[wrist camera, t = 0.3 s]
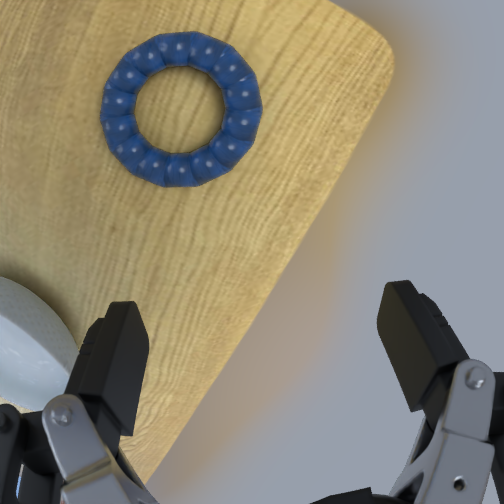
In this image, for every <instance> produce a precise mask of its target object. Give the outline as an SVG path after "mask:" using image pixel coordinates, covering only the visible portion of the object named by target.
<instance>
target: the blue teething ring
mask: <svg viewBox="0 0 504 504" xmlns="http://www.w3.org/2000/svg"><path fill="white" fill-rule="evenodd" d="M175 66H190V67H193V68H195V69H198V70H200V71H203V72H205V73H207V74H208V75H209V76H210V77H211V78H212V79H213V80H214V82H215V83H216V84H217V85H218V86H219V87H220V89H221V92H222V96H223V100H224V105H225V113H224V117H223V121H222V125H221V129H220V130H219V131H218V132H217V134H216V135H215V136H214V137H213V138H212V140H211V141H210V142H209V143H208V144H207V145H205V146H203V147H201V148H199V149H197V150H195V151H193V152H191V153H168V152H166V151H163V150H161V149H158V148H156V147H153V146H152V145H151V144H150V143H149V142H148V141H147V140H146V139H145V137H144V136H143V135H142V134H141V133H140V132H139V129H138V125H137V122H136V119H135V115H134V110H135V104H136V99H137V94H138V92H139V91H140V89H141V88H142V86H143V85H144V84H145V82H146V81H147V79H148V78H149V77H150V76H152V75H154V74H156V73H157V72H159V71H161V70H163V69H165V68H167V67H175ZM262 111H263V106H262V101H261V96H260V92H259V87H258V82H257V78H256V75H255V73H254V71H253V70H252V69H251V67H250V66H249V65H248V64H247V63H246V61H245V60H244V59H243V58H242V57H241V55H240V54H239V53H238V52H237V51H236V50H235V48H234V47H232V46H231V45H229V44H227V43H225V42H223V41H220V40H218V39H215V38H213V37H210V36H208V35H205V34H203V33H200V32H196V31H190V32H176V33H165V34H159V35H156V36H154V37H152V38H151V39H149V40H147V41H145V42H144V43H142V44H140V45H139V46H137V47H135V48H134V49H132V50H130V51H129V52H127V53H126V54H125V55H124V56H123V58H122V59H121V60H120V62H119V63H118V65H117V66H116V68H115V69H114V71H113V72H112V74H111V75H110V77H109V78H108V80H107V81H106V83H105V86H104V91H103V97H102V104H101V111H100V122H101V125H102V128H103V132H104V135H105V138H106V141H107V144H108V147H109V150H110V151H111V153H112V154H113V155H114V156H115V157H116V158H117V159H118V160H119V161H120V162H121V163H122V164H123V166H124V167H125V168H126V169H127V170H128V171H129V172H130V173H131V174H132V175H134V176H136V177H139V178H141V179H144V180H146V181H149V182H151V183H153V184H156V185H158V186H161V187H166V188H167V187H196V186H200V185H203V184H205V183H207V182H209V181H211V180H213V179H215V178H217V177H219V176H222V175H224V174H226V173H228V172H229V171H231V170H232V169H233V168H234V166H235V165H236V164H237V163H238V162H239V161H240V159H241V158H242V157H243V156H244V155H245V154H246V152H247V151H248V150H249V149H250V148H251V147H252V145H253V144H254V141H255V138H256V134H257V130H258V127H259V123H260V119H261V116H262Z"/></svg>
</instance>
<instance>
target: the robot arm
mask: <svg viewBox="0 0 504 504" xmlns="http://www.w3.org/2000/svg"><path fill="white" fill-rule="evenodd" d="M377 330H378V333H379V336H380V338H381V341H382V343H383V345H384V347H385V350H386V352H387V354H388V357H389V359H390V362H391V364H392V366H393V368H394V371H395V373H396V376H397V378H398V381H399V383H400V386H401V388H402V391H403V393H404V396H405V398H406V401H407V403H408V406H409V409H410V411H411V412H415V411H418V410H422V409H423V411H424V413H425V417H424V418H423V420H422V423H421V426H420V429H419V432H418V435H417V437H416V440H415V443H414V445H413V448H412V451H411V453H410V456H409V458H408V461H407V463H406V465H405V467H404V469H403V471H402V473H401V474H400V476H399V477H398V479H397V480H396V482H395V484H394V486H393V487H392V490H391V491H390V493H389V496H387V495H379V494H372V492H371V487H368V488H364V489H360V490H355V491H351V492H346V493H341V494H336V495H330V496H328V497H326V498H323V499H321V500H318V501H316V502H313V503H310V504H482V501H483V497H484V494H485V490H486V487H487V483H488V479H489V475H490V471H491V473H492V476H493V480H494V483H495V487H496V490H497V494H498V498H499V501H500V504H504V372H492V370H491V369H490V368H489V367H488V366H487V365H486V364H485V363H483V362H481V361H479V360H475V359H470V358H469V356H468V354H467V353H466V351H465V349H464V348H463V346H462V344H461V343H460V341H459V340H458V338H457V336H456V335H455V333H454V331H453V330H452V328H451V326H450V325H448V322H447V320H446V319H445V317H444V316H442V312H441V311H440V310H439V308H438V306H437V305H436V303H435V302H434V301H432V300H431V299H430V298H429V297H427V296H426V295H425V294H423V293H422V294H419V293H418V292H417V290H416V288H415V287H414V286H413V284H412V283H411V281H409V280H403V281H394V282H388V283H387V284H386V285H385V288H384V292H383V296H382V300H381V304H380V308H379V312H378V316H377ZM83 342H84V344H82V346H81V349H80V351H79V353H80V354H78V356H77V359H76V361H75V364H74V367H73V369H72V372H71V375H70V377H69V380H68V383H67V386H66V389H65V391H64V394H61V395H58V396H56V397H54V398H52V399H51V400H50V401H49V402H48V403H47V404H46V406H45V407H44V409H43V410H42V411H36V412H30V413H23V414H21V413H20V412H19V411H18V410H17V409H16V408H15V407H14V406H13V405H11V404H1V405H0V504H60V501H61V496H62V498H63V500H64V502H65V504H159V503H158V502H157V501H156V500H155V498H154V497H153V496H152V495H151V494H150V493H149V491H148V490H147V489H146V487H145V486H144V484H143V483H142V481H141V480H140V478H139V477H138V475H137V474H136V472H135V471H134V469H133V467H132V466H131V464H130V463H129V461H128V459H127V458H126V456H125V454H124V453H123V451H122V449H121V448H120V446H119V441H120V436H121V435H122V436H133V430H134V425H135V419H136V413H137V408H138V403H139V397H140V392H141V387H142V382H143V377H144V373H145V368H146V363H147V358H148V354H149V338H148V334H147V331H146V329H145V326H144V323H143V321H142V318H141V315H140V312H139V310H138V307H137V304H136V303H135V302H134V301H122V302H112V303H111V304H110V305H109V308H108V310H107V313H106V315H105V318H98V319H97V320H96V321H95V322H94V323H93V325H92V326H91V327H90V328H89V329H88V331H87V334H86V336H85V339H84V341H83ZM21 464H23V465H24V467H23V472H22V477H21V482H20V487H19V493H18V499H17V496H16V489H17V483H18V478H19V473H20V468H21ZM63 480H64V484H63Z"/></svg>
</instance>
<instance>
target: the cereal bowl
mask: <svg viewBox="0 0 504 504" xmlns="http://www.w3.org/2000/svg"><path fill="white" fill-rule="evenodd" d="M78 354H79V351H78V348H77V345H76V343H75V341H74V339H73V336H72V335H71V334H70V332H69V330H68V328H67V327H66V326H65V324H64V323H63V322H62V320H61V318H60V317H59V316H58V315H57V314H56V312H54V311H53V310H52V309H51V307H50V306H48V305H47V304H46V303H45V302H44V301H43V300H42V299H40V298H39V297H38V296H37V295H36V294H34V293H33V292H32V291H30V290H28V289H27V288H25V287H23V286H22V285H20V284H18V283H16V282H14V281H12V280H10V279H7V278H4V277H1V276H0V396H1V397H3V398H4V399H6V400H8V401H10V402H12V403H14V404H16V405H19V406H21V407H24V408H26V409H30V410H33V411H42V410H43V409H44V407H45V406H46V404H47V403H48V402H49V401H50V400H51V399H52V398H54V397H56V396H58V395H61V394H64V391H65V389H66V386H67V383H68V380H69V377H70V375H71V372H72V369H73V367H74V364H75V361H76V359H77V356H78Z"/></svg>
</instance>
